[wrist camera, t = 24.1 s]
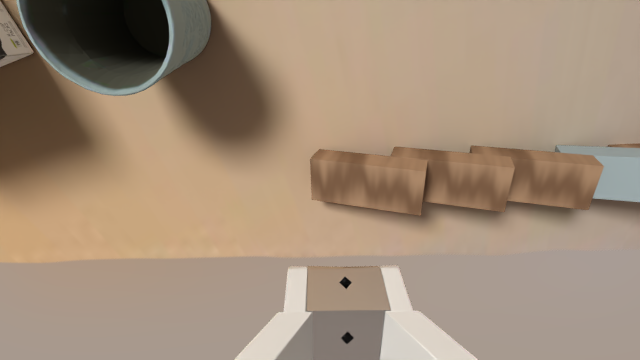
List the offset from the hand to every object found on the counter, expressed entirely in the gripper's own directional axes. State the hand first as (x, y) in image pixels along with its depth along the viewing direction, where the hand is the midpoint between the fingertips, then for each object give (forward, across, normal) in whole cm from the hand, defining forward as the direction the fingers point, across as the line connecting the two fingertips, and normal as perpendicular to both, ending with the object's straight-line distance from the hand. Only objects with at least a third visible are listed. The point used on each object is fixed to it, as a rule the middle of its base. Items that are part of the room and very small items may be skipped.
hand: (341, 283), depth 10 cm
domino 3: (+29, -17, +10) cm, 35 cm away
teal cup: (+30, +15, -6) cm, 34 cm away
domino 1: (+28, +1, +10) cm, 30 cm away
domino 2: (+29, -8, +10) cm, 31 cm away
